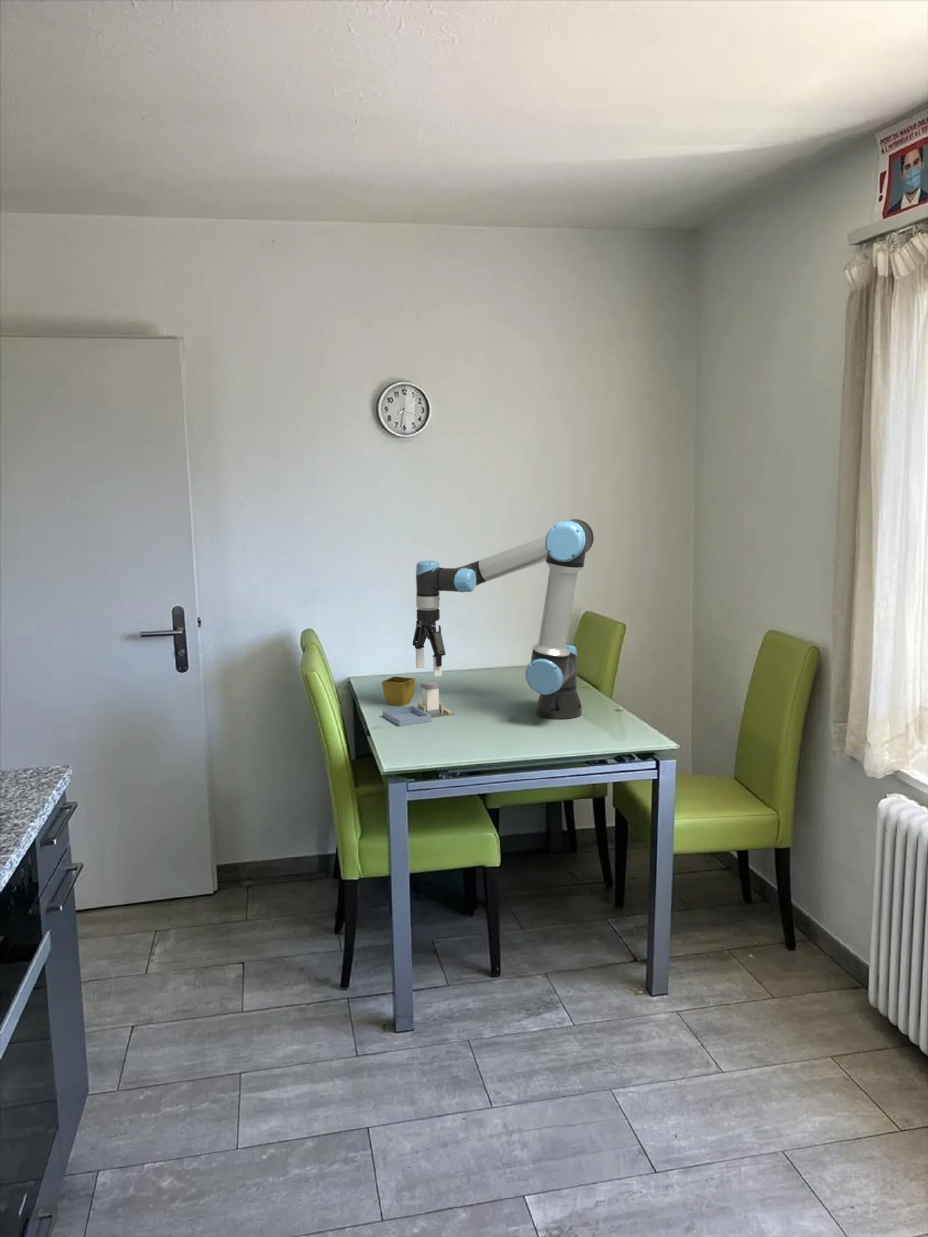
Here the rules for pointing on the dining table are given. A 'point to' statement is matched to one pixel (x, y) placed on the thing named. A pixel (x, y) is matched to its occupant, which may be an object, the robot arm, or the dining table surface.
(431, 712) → the block
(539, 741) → the dining table surface
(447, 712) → the block
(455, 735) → the dining table surface
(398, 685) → the flower pot
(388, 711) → the tray
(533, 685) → the robot arm
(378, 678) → the dining table surface
